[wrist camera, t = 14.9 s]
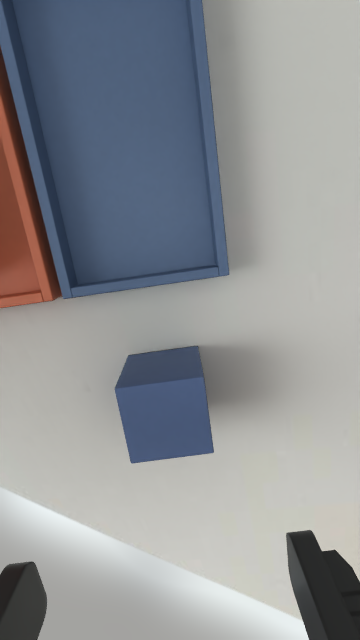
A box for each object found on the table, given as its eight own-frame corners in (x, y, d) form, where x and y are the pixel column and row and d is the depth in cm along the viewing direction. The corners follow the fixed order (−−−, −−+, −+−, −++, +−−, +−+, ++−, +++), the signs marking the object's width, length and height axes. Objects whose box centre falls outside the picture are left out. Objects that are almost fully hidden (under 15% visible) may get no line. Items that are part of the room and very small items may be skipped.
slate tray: (73, 293, 20) (62, 299, 18) (-3, -28, 16) (-28, -64, 14) (224, 271, 20) (229, 275, 18) (190, -61, 16) (191, -103, 14)
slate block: (140, 416, 23) (130, 463, 18) (128, 355, 22) (114, 388, 17) (206, 407, 23) (214, 453, 18) (197, 345, 22) (203, 376, 17)
